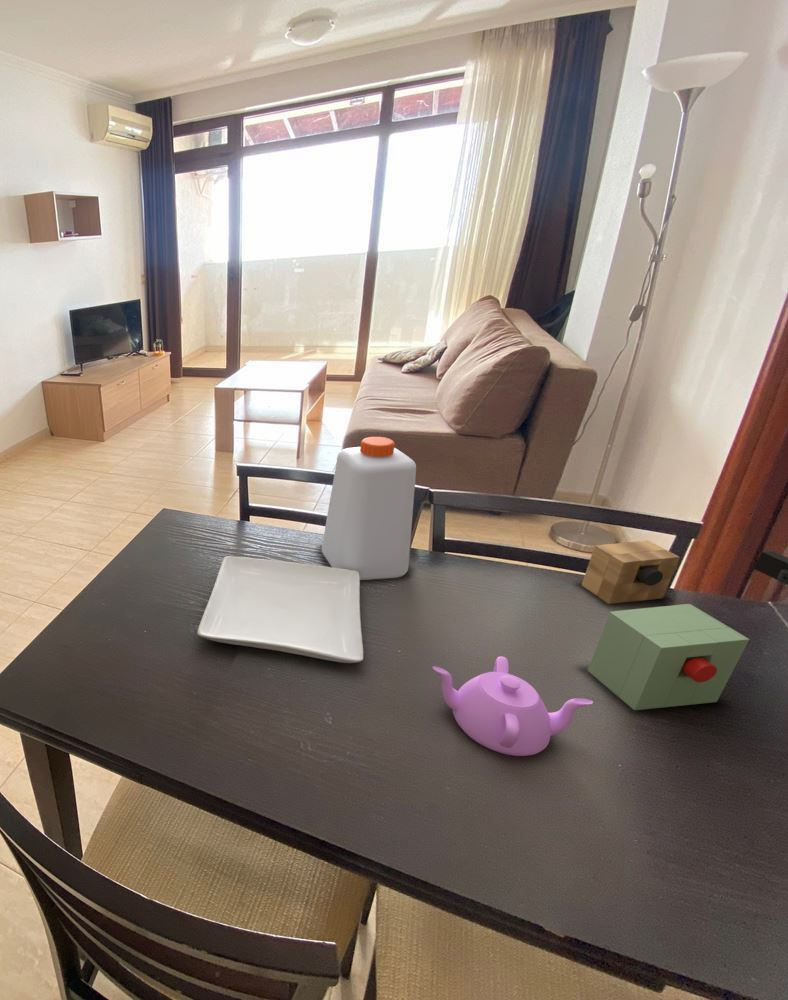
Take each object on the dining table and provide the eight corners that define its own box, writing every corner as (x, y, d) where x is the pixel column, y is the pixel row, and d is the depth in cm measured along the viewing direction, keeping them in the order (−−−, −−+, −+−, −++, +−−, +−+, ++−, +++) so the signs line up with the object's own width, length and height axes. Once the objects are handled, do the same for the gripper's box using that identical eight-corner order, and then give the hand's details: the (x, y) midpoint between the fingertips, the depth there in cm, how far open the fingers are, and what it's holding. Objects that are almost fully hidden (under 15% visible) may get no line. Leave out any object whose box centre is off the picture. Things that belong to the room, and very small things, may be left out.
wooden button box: (607, 606, 97) (623, 562, 93) (580, 588, 103) (594, 545, 99) (661, 601, 98) (680, 556, 94) (631, 583, 103) (648, 540, 99)
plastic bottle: (340, 585, 110) (354, 457, 98) (315, 548, 124) (325, 432, 112) (415, 579, 110) (438, 450, 98) (381, 543, 123) (398, 426, 111)
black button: (642, 586, 94) (648, 572, 93) (634, 581, 96) (640, 567, 94) (659, 585, 94) (665, 570, 93) (651, 580, 96) (656, 565, 94)
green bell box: (632, 713, 77) (661, 648, 72) (586, 673, 84) (609, 611, 79) (715, 705, 77) (749, 639, 72) (661, 666, 84) (689, 603, 79)
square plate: (224, 568, 119) (224, 553, 117) (358, 585, 110) (360, 568, 108) (196, 648, 96) (195, 631, 95) (361, 678, 87) (364, 659, 85)
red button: (690, 683, 73) (698, 666, 71) (678, 675, 74) (686, 658, 73) (712, 681, 73) (721, 664, 71) (700, 673, 74) (708, 656, 73)
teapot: (575, 749, 72) (595, 701, 69) (489, 777, 70) (504, 728, 66) (499, 687, 83) (512, 642, 79) (422, 709, 80) (431, 663, 77)
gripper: (948, 720, 54) (705, 586, 75) (1076, 708, 54) (797, 578, 75) (994, 662, 50) (727, 540, 72) (1130, 649, 51) (822, 531, 72)
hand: (763, 559), depth 73 cm, fingers closed
